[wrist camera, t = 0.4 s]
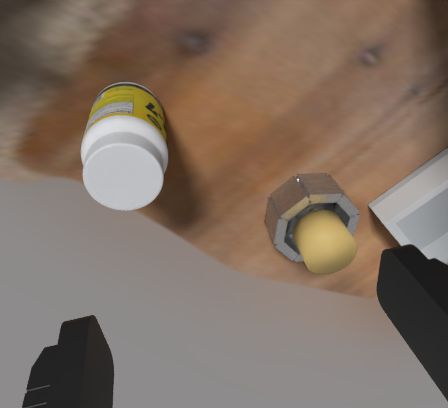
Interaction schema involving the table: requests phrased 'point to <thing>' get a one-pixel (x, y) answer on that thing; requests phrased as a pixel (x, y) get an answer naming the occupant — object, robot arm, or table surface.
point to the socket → (305, 208)
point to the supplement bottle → (125, 147)
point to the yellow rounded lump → (324, 242)
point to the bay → (419, 208)
